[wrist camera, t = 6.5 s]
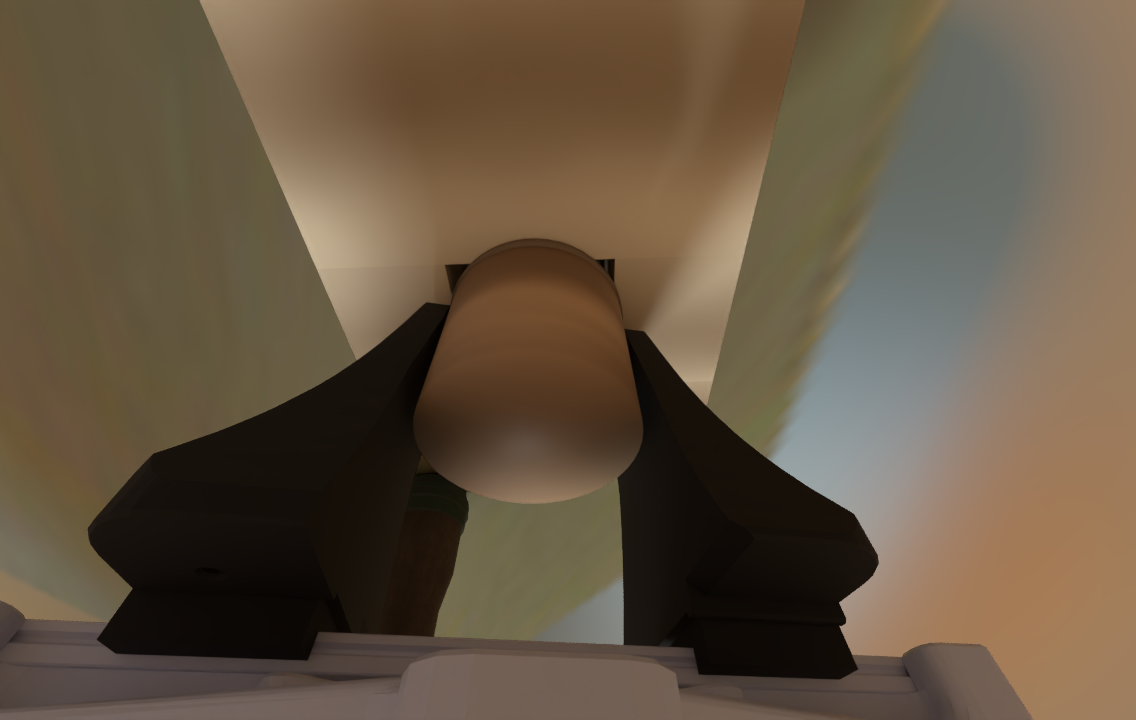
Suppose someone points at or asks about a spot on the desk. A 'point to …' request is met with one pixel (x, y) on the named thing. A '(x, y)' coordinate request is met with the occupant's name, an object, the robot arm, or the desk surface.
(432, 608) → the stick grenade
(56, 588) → the desk surface
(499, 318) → the peg
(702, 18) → the board
